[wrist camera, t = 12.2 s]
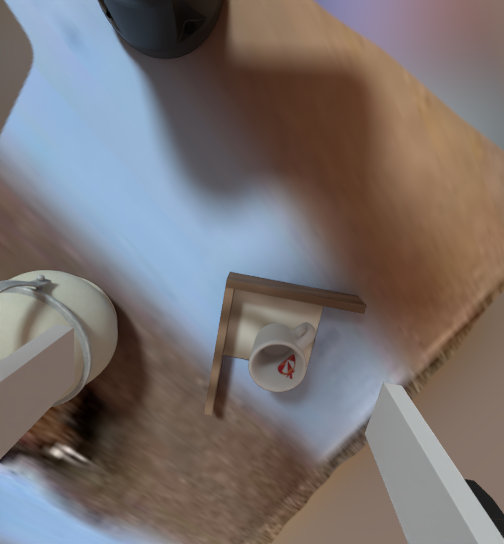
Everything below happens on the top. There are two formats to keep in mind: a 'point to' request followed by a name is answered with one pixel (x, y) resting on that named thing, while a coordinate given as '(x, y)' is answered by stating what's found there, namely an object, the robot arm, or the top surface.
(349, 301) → the wooden corner frame
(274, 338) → the cup
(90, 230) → the top surface
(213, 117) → the top surface
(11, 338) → the kettle
